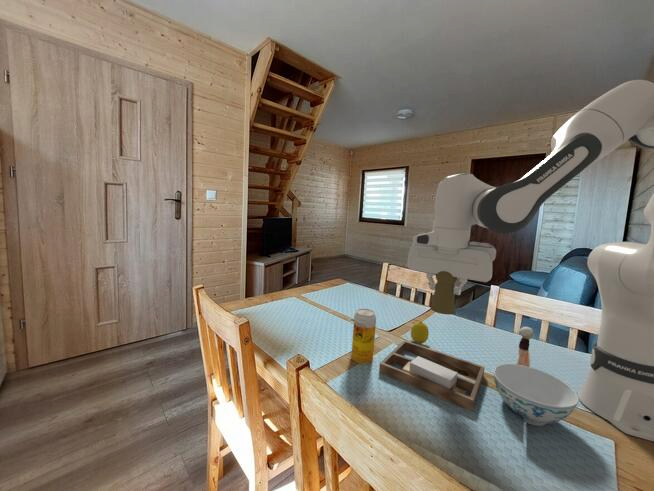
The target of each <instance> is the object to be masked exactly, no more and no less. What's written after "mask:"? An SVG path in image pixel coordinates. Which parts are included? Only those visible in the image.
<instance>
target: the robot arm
mask: <svg viewBox="0 0 654 491" xmlns="http://www.w3.org/2000/svg"><path fill="white" fill-rule="evenodd" d="M626 142H629V143H630V144H631V145H633V146H635V147H637V148H640V149H646V150H647V149H649V150H651V149H654V82H651V81H649V80H646V79H633V80H628V81H625V82H623V83H622V84H619V85H618V86H615V87H614V88H612V89H610V90H608V91H607V92H605V93H603V94H602V95H600V96H599V97H597V98H596V99H594V100H592V101H591V102H590V103H588V104H587V105H586V106H584V107H583V108H582V109H581V110H579V111H578V112H576V113H575V114H574V115H572V116H571V117H570V118H569V119H568V120H567V121H565V123H563V125H562V126H561V127H560V128H559V129H558V130H556V132H555V133H554V134H553V135H552V137H551V140H550V150H551V153H550V154H549V155H548V156H547V157H546V158H544V160H542V161H540V162H539V163H538V164H537V165H536V166H534V167H533V168H532V169H531V170H530V171H529V172H528V171H527V173H526V174H525V175H523V176H522V177H521V178H520V179H518V180H516V181H514V182H510V183H506V184H502V185H500V186H497V187H496V186H492V185H490V184H488V183H485V182H483V181H482V180H480V179H478V178H477V177H476V176H475V175H474V174H473V173H466V172H465V173H463V172H462V173H457V174H453V175H448V176H446V177H444V178H442V179H441V181H440V182H439V183H438V185H437V189H436V196H435V200H434V209H433V210H434V215H435V218H434V221H433V224H432V230H431V231H426V232H424V233H420V234H416V235H414V236H413V237H412V243H413V244H412V245H411V246H410V247H409V251H408V255H407V256H408V257H407V261H406V265H407V268H408V269H409V270H412V271H418V272H423V273H426V278H427V280H428V282H429V290H431V291H435V289H436V284H437V282H436V281H435V280H434V277H433V276H435V275H436V274H437V273H438V272H440V271H446V272H449V273H450V274H452V276H453V277H457V279H458V280H459V283H460V284H459V285H458V286H456V285H454V289H453V290H454V292H453V294H455V295H456V296H461V293H462V289H463V287H464V285H465V284H466V283H467V281H468V280H469V281H470V280H471V281H478V282H483V283H487V282H489V281H490V280H492V278H493V262H494V261H495V259H496V256H497V249H496V247H495V246H494V245H491V243H488V242H480V241H479V242H478V241H472V240H470V239H471V231H472V230H471V229H472V226H473V225H477V226H480V227H482V228H486V229H489V230H490V231H493V232H494V233H498V234H504V235H505V234H513V233H516V232H519V231H520V230H522V229H525V227H527V226H528V225H529V224H530V223H531V222H532V220H533V219H534V217H535V216H536V214H537V213H538V210H540V208H541V206H542V205H543V204H544V203H545V202H546V201H547V200H548V199H549V198H550V197H551V196H552V195H554V194H555V193H557V192H558V191H559V190H560V189H561V188H563V187H564V186H565V185H566V184H567V183H569V182H570V181H572V180H573V179H575V177H576V176H578V175H579V174H580V173H581V172H583V171H584V170H585V169H587V168H588V167H589V166H591V165H593V164H595V163H596V162H598V161H600V160H601V159H603V158H605V157H606V156H608V155H609V154H611V153H612V152H614V151H615V150H616V149H617V148H619V147H620V146H622V145H623V144H625V143H626ZM643 216H644V218H645V219H646V221H647V222H648V223H649V224H650V227H651V230H650V236H649V239H648V242H647V243H646V244H645V243H640V242H631V241H617V242H616V241H615V242H607V243H603V244H599V245H597V246H596V247H595V248H593V249H592V251H591V252H590V253H589V254H588V258H587V262H586V263H587V268H588V270H589V272H590V274H592V276H593V278H594V279H595V282H596V284H597V288H598V293H599V297H600V303H601V304H600V305H601V319H600V325H599V329H598V330H599V332H598V337H597V342H595V343H594V345H593V348H592V350H591V353H590V354H591V355H590V361H589V362H590V368H589V372H588V374H587V377H586V379H585V381H584V382H583V384H582V386H581V388H580V389H579V390H578V392H577V393H576V394H577V396H578V400H579V401H580V402H581V403H582V405H584V406H585V407H586V408H588V409H589V410H590V411H592V412H593V413H595V414H596V415H598V416H600V417H602V418H603V419H605V420H607V421H608V422H610V423H611V424H612V425H613V426H615V427H616V428H617V429H618V430H620V431H621V432H623V433H625V434H627V435H629V436H633V437H636V438H639V439H644V440H647V441H650V442H654V192H653V194H652V195H651V197H650V199H649V201H648V202H647V204H646V206H645V207H644V209H643Z"/></svg>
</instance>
